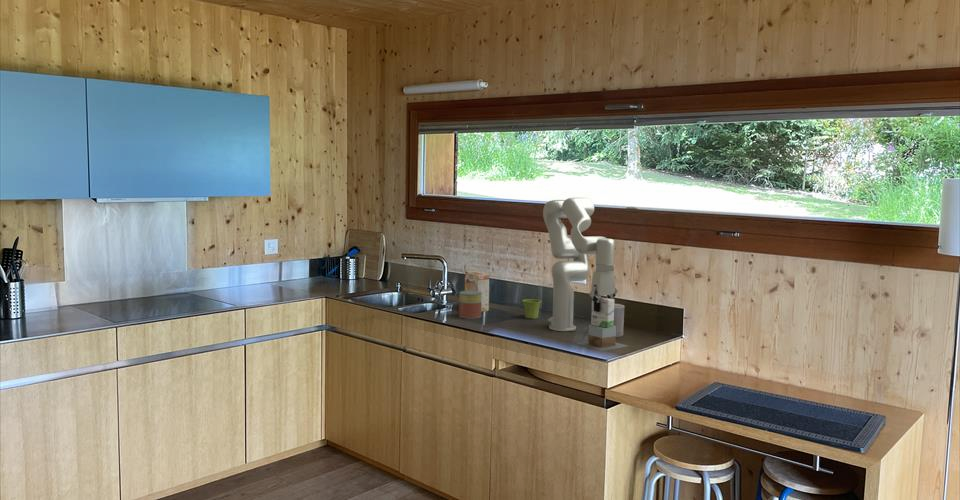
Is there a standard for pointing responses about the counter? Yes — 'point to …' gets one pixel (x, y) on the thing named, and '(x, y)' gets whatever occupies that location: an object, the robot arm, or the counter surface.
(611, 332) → the top slab
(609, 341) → the bottom slab
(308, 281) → the counter surface
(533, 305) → the plant pot
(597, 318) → the ink box
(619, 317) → the pillar candle
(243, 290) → the counter surface
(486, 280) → the coffeecake box
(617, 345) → the mat
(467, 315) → the canned food
